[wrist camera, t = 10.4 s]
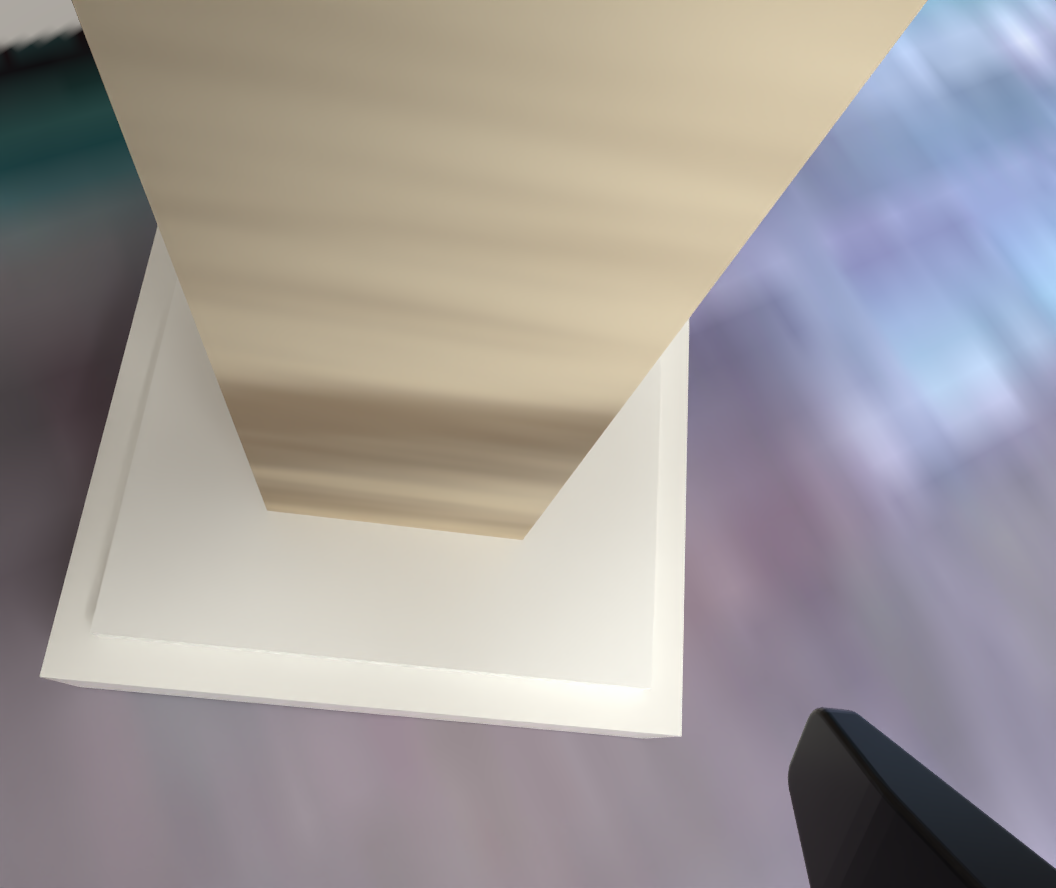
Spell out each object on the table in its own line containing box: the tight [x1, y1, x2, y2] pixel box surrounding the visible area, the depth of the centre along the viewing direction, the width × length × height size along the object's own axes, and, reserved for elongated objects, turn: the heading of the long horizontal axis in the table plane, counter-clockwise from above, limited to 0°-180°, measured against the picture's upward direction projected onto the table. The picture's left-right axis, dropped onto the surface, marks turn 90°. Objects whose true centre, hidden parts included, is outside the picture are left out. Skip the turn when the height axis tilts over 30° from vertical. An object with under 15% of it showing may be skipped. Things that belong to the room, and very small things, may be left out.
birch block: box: [72, 0, 927, 540], centre depth 12 cm, size 5×5×14 cm
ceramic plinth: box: [40, 226, 689, 738], centre depth 20 cm, size 12×12×3 cm
